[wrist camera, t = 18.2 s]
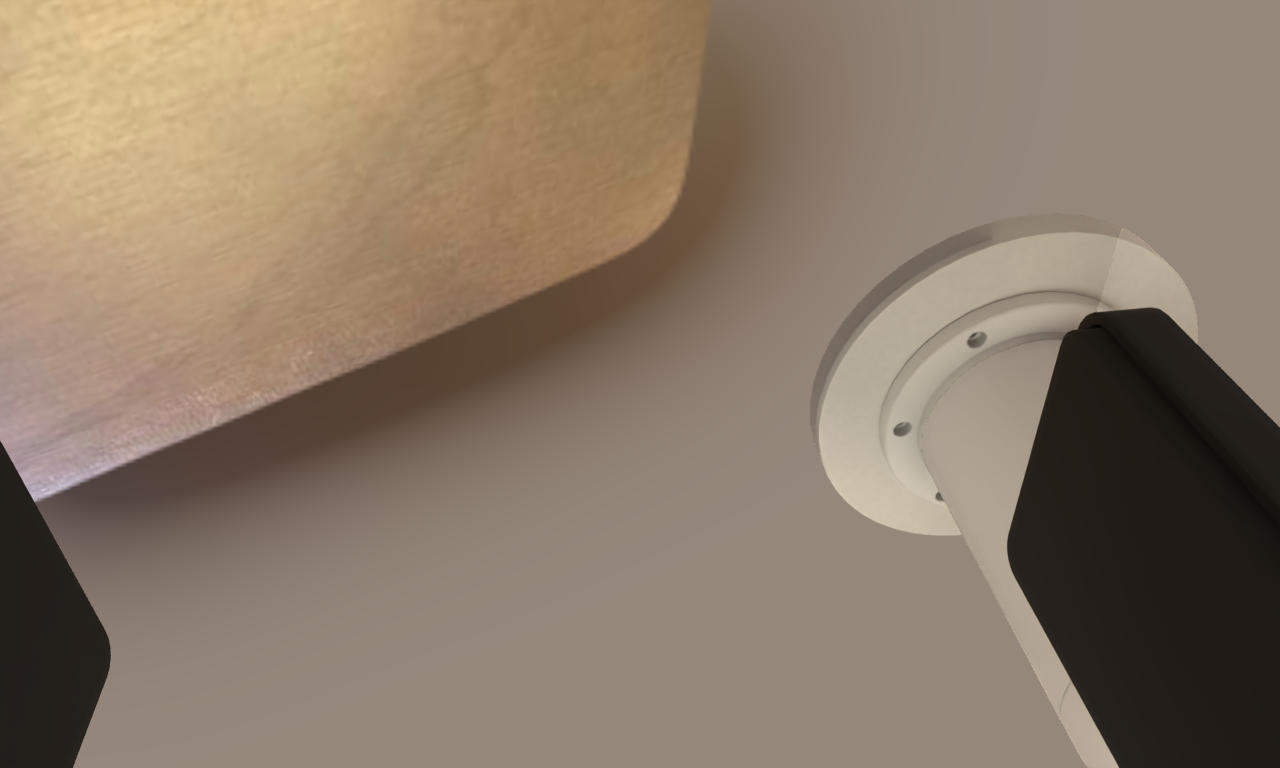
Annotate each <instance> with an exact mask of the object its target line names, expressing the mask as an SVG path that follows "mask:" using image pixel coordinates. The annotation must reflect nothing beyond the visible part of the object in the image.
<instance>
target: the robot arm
mask: <svg viewBox="0 0 1280 768" xmlns="http://www.w3.org/2000/svg"><path fill="white" fill-rule="evenodd" d="M879 431H880V444H881V447H882V450H883V453H884V456H885V459H886V461H887V463H888V465H889V466H890V468H891V470H892V472H893V474H894V476H895V477H896V479H897V480H898V481H899V482H900V483H901V484H902V485H903V486H904V487H905V489H907V490H908V491H910V492H911V493H913V494H914V495H916V496H917V497H919V498H920V499H922V500H925V501H927V502H930V503H932V504H935V505H938V506H944V507H948V509H949V511H950V513H951V515H952V516H953V518H954V520H955V522H956V524H957V526H958V528H959V530H960V532H961V533H962V535H963V537H964V539H965V541H966V543H967V545H968V547H969V549H970V550H971V552H972V554H973V556H974V558H975V560H976V562H977V564H978V566H979V567H980V569H981V571H982V573H983V575H984V577H985V579H986V581H987V583H988V585H989V586H990V588H991V590H992V592H993V594H994V596H995V598H996V599H997V602H998V603H999V605H1000V607H1001V609H1002V611H1003V613H1004V615H1005V616H1006V619H1007V620H1008V622H1009V624H1010V626H1011V628H1012V630H1013V632H1014V634H1015V636H1016V637H1017V639H1018V641H1019V643H1020V645H1021V647H1022V649H1023V651H1024V653H1025V654H1026V656H1027V658H1028V660H1029V662H1030V664H1031V666H1032V668H1033V670H1034V672H1035V673H1036V675H1037V677H1038V679H1039V681H1040V683H1041V685H1042V687H1043V689H1044V690H1045V692H1046V694H1047V696H1048V698H1049V700H1050V702H1051V704H1052V705H1053V707H1054V709H1055V711H1056V713H1057V715H1058V717H1059V719H1060V721H1061V722H1062V725H1063V726H1064V728H1065V730H1066V731H1067V733H1068V735H1069V737H1070V739H1071V740H1072V743H1073V744H1074V746H1075V748H1076V750H1077V752H1078V754H1079V756H1080V757H1081V759H1082V760H1083V762H1084V763H1085V765H1086V766H1087V768H1280V427H1278V425H1277V424H1276V423H1275V422H1274V421H1273V420H1272V419H1271V418H1270V417H1269V416H1267V414H1266V413H1265V412H1264V411H1263V410H1262V409H1261V408H1260V407H1259V406H1258V405H1257V404H1256V403H1255V402H1254V401H1253V400H1252V399H1251V398H1250V397H1249V396H1248V395H1247V394H1246V393H1245V392H1244V391H1243V390H1242V389H1241V388H1240V387H1239V386H1238V385H1237V384H1236V383H1235V382H1234V381H1233V380H1232V379H1231V378H1230V377H1229V376H1228V375H1227V374H1226V373H1225V372H1224V371H1223V370H1222V369H1221V368H1220V367H1219V366H1218V365H1217V364H1216V363H1215V362H1214V361H1213V360H1212V359H1211V358H1210V357H1209V356H1208V355H1207V354H1206V353H1205V352H1204V351H1203V350H1202V349H1201V348H1200V347H1199V346H1198V345H1197V344H1196V343H1195V342H1194V340H1193V339H1192V338H1191V337H1190V336H1189V335H1188V334H1187V333H1186V332H1185V331H1184V330H1183V329H1182V328H1181V327H1180V326H1179V325H1178V324H1177V323H1176V322H1175V321H1174V320H1173V319H1172V318H1171V317H1170V316H1169V315H1168V314H1166V313H1165V312H1163V311H1162V310H1161V309H1158V308H1152V307H1148V308H1137V309H1126V310H1114V309H1112V308H1111V307H1109V306H1107V305H1105V304H1103V303H1101V302H1100V301H1098V300H1096V299H1093V298H1090V297H1086V296H1082V295H1078V294H1074V293H1062V292H1041V293H1032V294H1023V295H1019V296H1015V297H1012V298H1008V299H1004V300H1001V301H997V302H994V303H992V304H989V305H987V306H985V307H982V308H980V309H978V310H975V311H973V312H971V313H969V314H967V315H965V316H963V317H962V318H960V319H958V320H957V321H955V322H953V323H952V324H950V325H948V326H947V327H945V328H944V329H943V330H941V331H940V332H939V333H938V334H936V335H935V336H934V337H933V338H931V339H930V340H929V341H928V342H926V343H925V344H924V345H923V346H922V347H921V348H920V349H919V350H918V351H917V352H916V353H915V354H914V355H913V356H912V358H911V359H910V360H909V361H908V362H907V363H906V364H905V365H904V367H903V368H902V370H901V371H900V373H899V374H898V376H897V377H896V379H895V380H894V382H893V383H892V385H891V387H890V390H889V392H888V394H887V397H886V399H885V401H884V403H883V408H882V412H881V417H880V422H879ZM110 659H111V654H110V643H109V638H108V636H107V633H106V631H105V629H104V627H103V626H102V624H101V622H100V620H99V618H98V617H97V615H96V613H95V611H94V609H93V607H92V606H91V604H90V602H89V601H88V598H87V597H86V595H85V593H84V591H83V589H82V588H81V586H80V584H79V582H78V580H77V579H76V577H75V575H74V573H73V572H72V569H71V568H70V566H69V564H68V562H67V560H66V559H65V557H64V555H63V553H62V551H61V550H60V548H59V546H58V544H57V542H56V540H55V539H54V537H53V535H52V533H51V531H50V530H49V528H48V526H47V524H46V522H45V521H44V519H43V517H42V515H41V514H40V512H39V510H38V508H37V506H36V504H35V502H34V501H33V499H32V497H31V495H30V493H29V492H28V490H27V488H26V486H25V484H24V483H23V481H22V479H21V477H20V475H19V473H18V472H17V470H16V468H15V466H14V464H13V463H12V461H11V459H10V457H9V455H8V454H7V452H6V450H5V448H4V446H3V445H2V443H1V442H0V768H73V765H74V763H75V760H76V758H77V755H78V752H79V750H80V747H81V744H82V741H83V739H84V736H85V734H86V731H87V728H88V726H89V723H90V721H91V718H92V715H93V713H94V710H95V707H96V705H97V702H98V699H99V697H100V694H101V691H102V689H103V686H104V684H105V681H106V678H107V675H108V671H109V668H110Z"/></svg>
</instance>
